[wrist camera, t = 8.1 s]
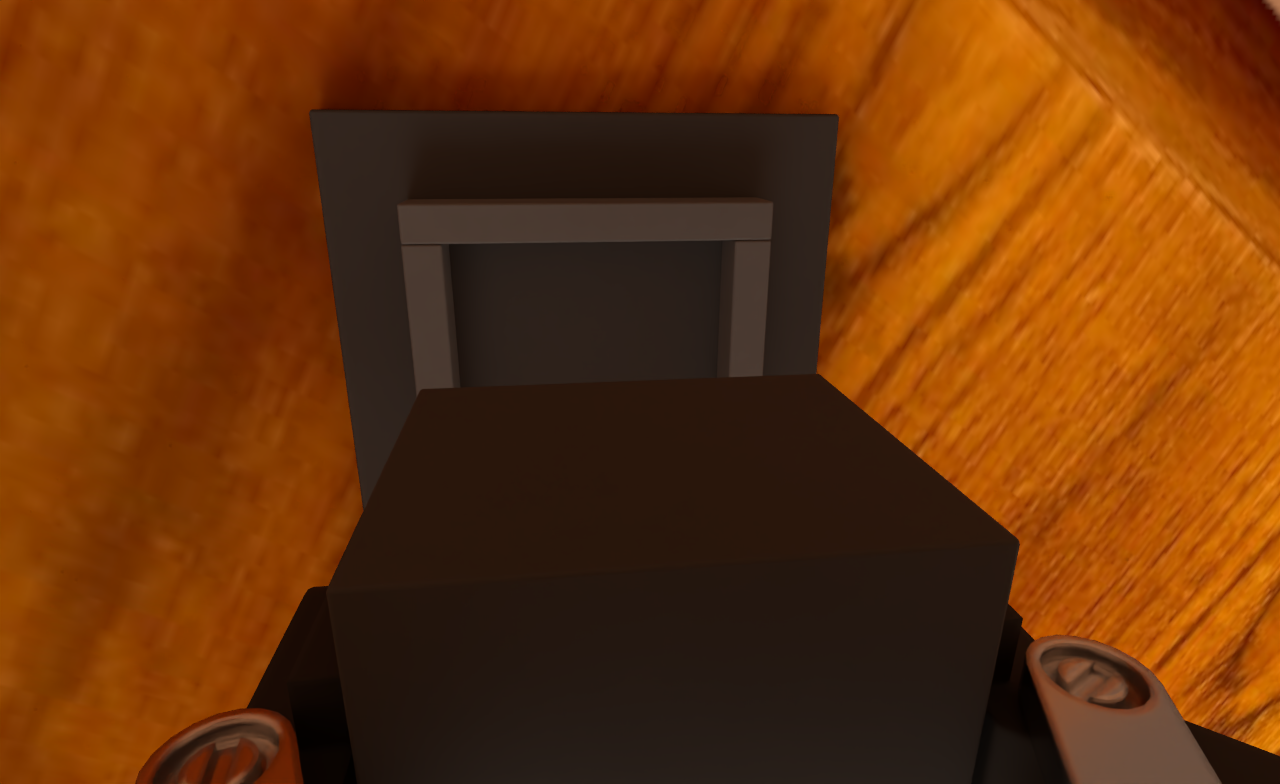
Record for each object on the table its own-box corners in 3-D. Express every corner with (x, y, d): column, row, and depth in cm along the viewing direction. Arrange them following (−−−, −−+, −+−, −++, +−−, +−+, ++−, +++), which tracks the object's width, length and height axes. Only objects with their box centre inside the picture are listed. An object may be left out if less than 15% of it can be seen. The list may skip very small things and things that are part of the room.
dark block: (418, 387, 10) (322, 590, 6) (819, 372, 11) (1023, 540, 6) (452, 719, 12) (402, 1072, 8) (791, 687, 13) (931, 990, 8)
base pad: (319, 110, 19) (288, 106, 17) (826, 115, 21) (863, 112, 19) (379, 568, 24) (361, 615, 21) (791, 541, 25) (816, 581, 23)
